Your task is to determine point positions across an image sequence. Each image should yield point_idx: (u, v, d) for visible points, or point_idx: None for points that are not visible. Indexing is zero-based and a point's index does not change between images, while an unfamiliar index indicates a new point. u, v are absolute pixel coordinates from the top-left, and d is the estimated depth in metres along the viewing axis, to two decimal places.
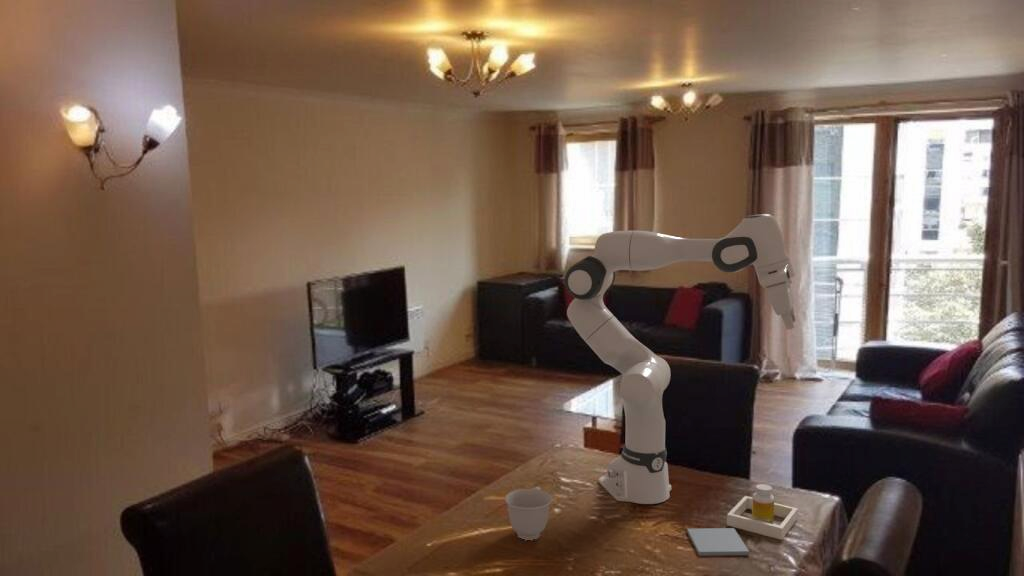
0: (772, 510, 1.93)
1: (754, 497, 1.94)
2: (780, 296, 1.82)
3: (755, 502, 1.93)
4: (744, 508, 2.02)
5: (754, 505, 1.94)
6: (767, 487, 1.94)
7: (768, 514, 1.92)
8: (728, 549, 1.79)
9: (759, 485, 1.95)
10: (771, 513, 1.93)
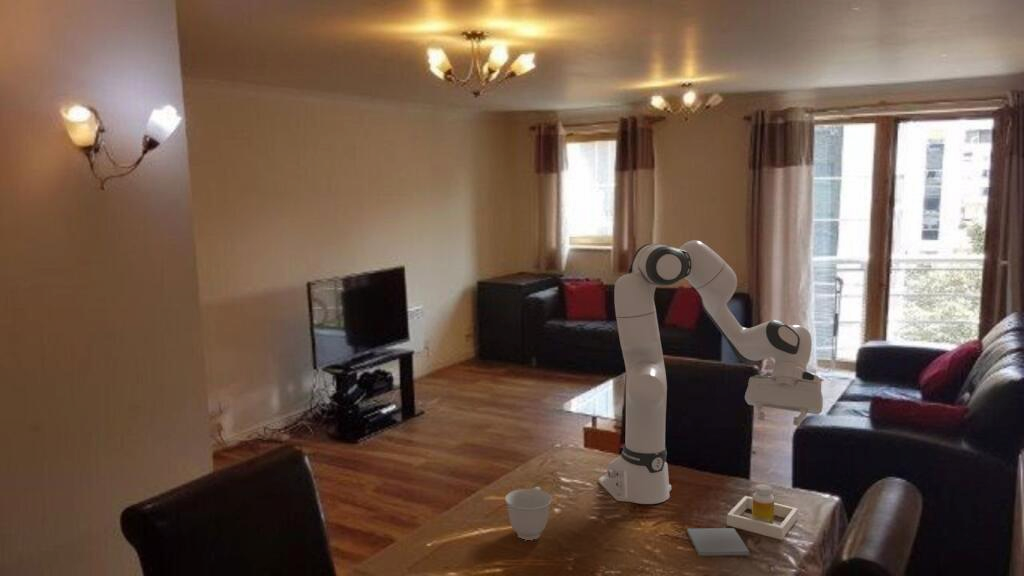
0: (772, 510, 1.93)
1: (754, 497, 1.94)
2: (822, 398, 2.01)
3: (755, 502, 1.93)
4: (744, 508, 2.02)
5: (754, 505, 1.94)
6: (767, 487, 1.94)
7: (768, 514, 1.92)
8: (728, 549, 1.79)
9: (759, 485, 1.95)
10: (771, 513, 1.93)
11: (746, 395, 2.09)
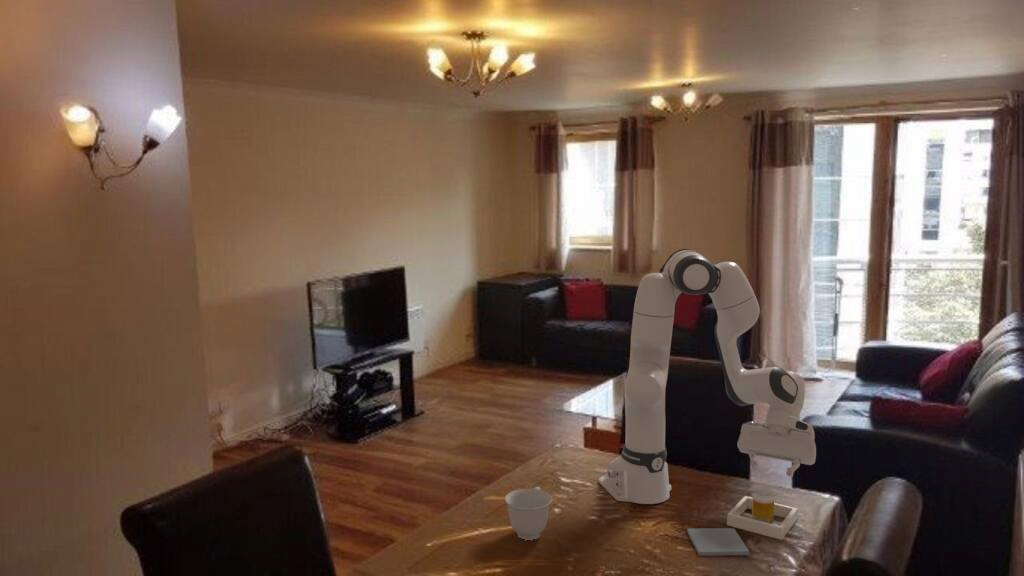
0: (772, 510, 1.93)
1: (754, 497, 1.94)
2: (815, 449, 1.99)
3: (755, 502, 1.93)
4: (744, 508, 2.02)
5: (754, 505, 1.94)
6: (767, 487, 1.94)
7: (768, 514, 1.92)
8: (728, 549, 1.79)
9: (759, 485, 1.95)
10: (771, 513, 1.93)
11: (739, 443, 2.06)
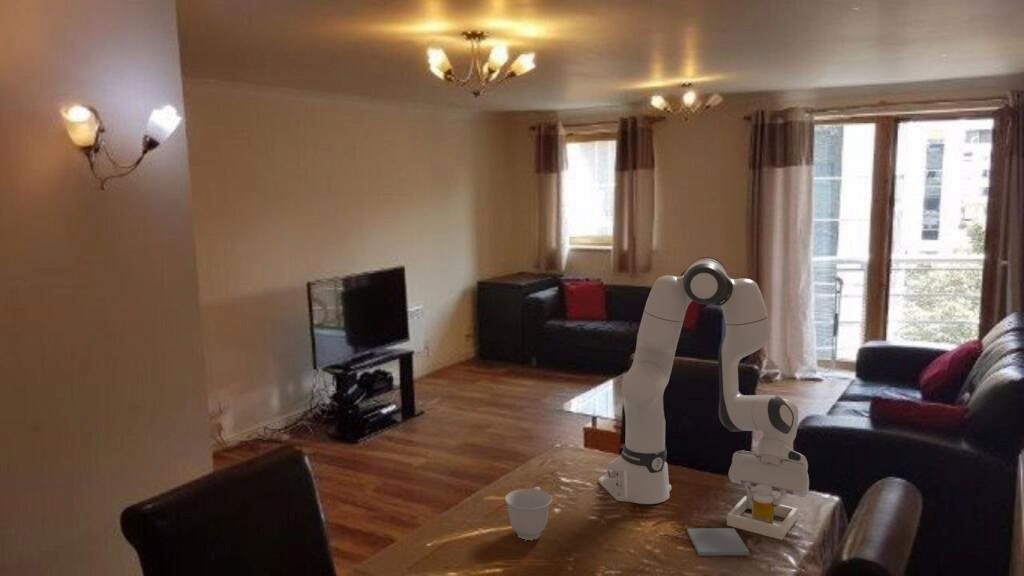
0: (772, 510, 1.93)
1: (754, 497, 1.94)
2: (808, 480, 1.94)
3: (755, 502, 1.93)
4: (744, 508, 2.02)
5: (754, 505, 1.94)
6: (767, 487, 1.94)
7: (768, 514, 1.92)
8: (728, 549, 1.79)
9: (759, 485, 1.95)
10: (771, 513, 1.93)
11: (730, 473, 2.01)
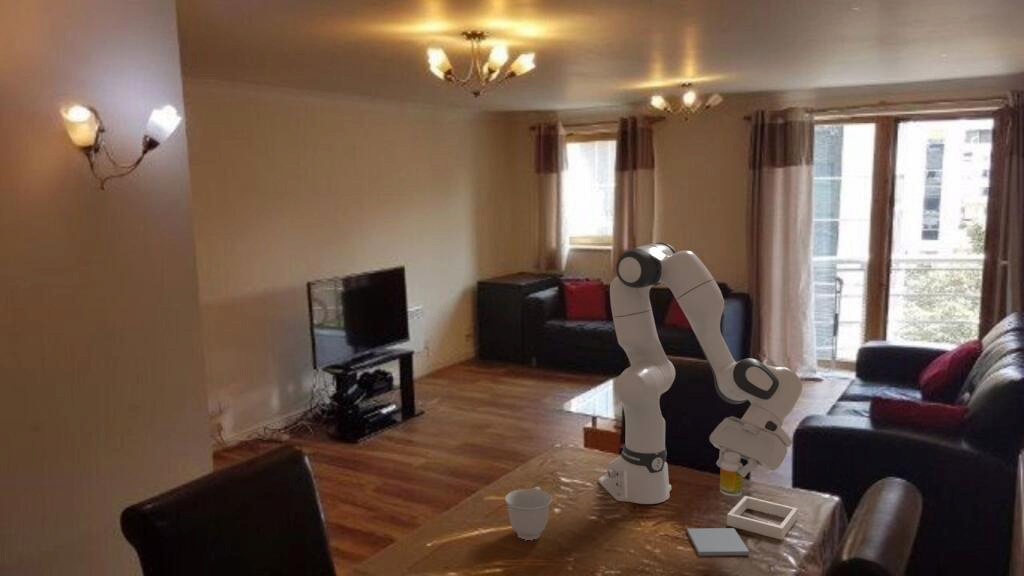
0: (737, 480, 1.81)
1: (721, 463, 1.84)
2: (781, 454, 1.77)
3: (720, 468, 1.83)
4: (744, 508, 2.02)
5: (720, 472, 1.84)
6: (735, 455, 1.82)
7: (731, 483, 1.81)
8: (728, 549, 1.79)
9: (729, 452, 1.84)
10: (735, 483, 1.81)
11: (710, 436, 1.92)
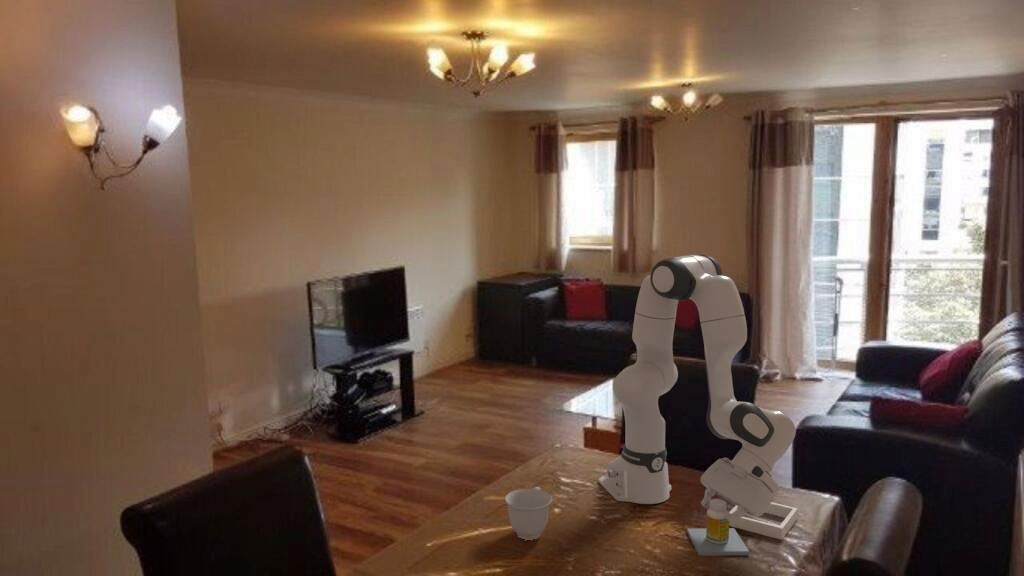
0: (722, 528, 1.81)
1: (707, 510, 1.84)
2: (766, 500, 1.76)
3: None
4: None
5: None
6: (721, 503, 1.82)
7: (716, 531, 1.81)
8: (728, 549, 1.79)
9: (716, 499, 1.84)
10: (720, 531, 1.81)
11: (701, 477, 1.92)
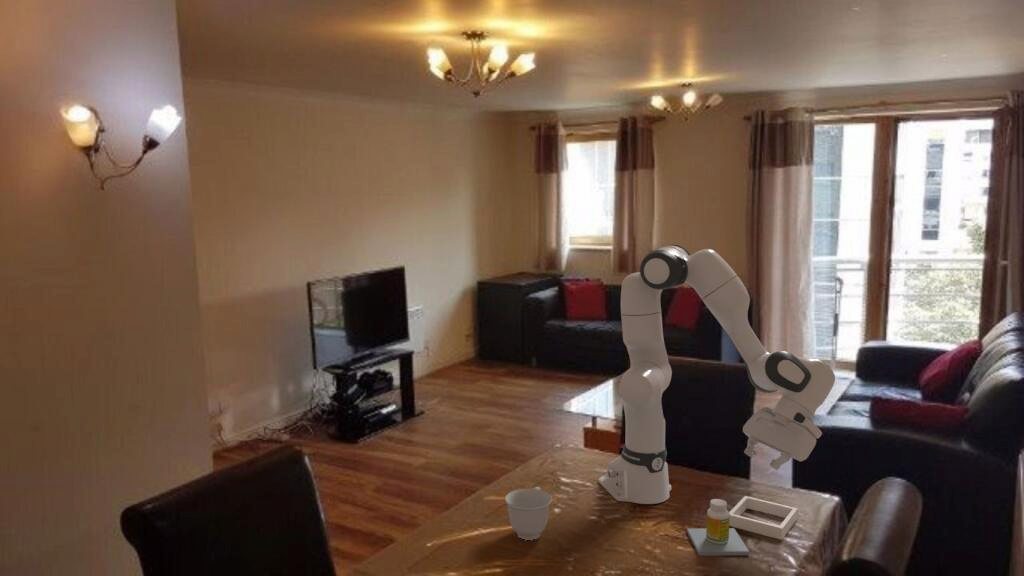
0: (722, 528, 1.81)
1: (707, 511, 1.84)
2: (809, 445, 1.80)
3: (707, 515, 1.84)
4: (744, 508, 2.02)
5: None
6: (721, 503, 1.82)
7: (716, 531, 1.81)
8: (728, 549, 1.79)
9: (716, 499, 1.84)
10: (720, 531, 1.81)
11: (743, 427, 1.96)
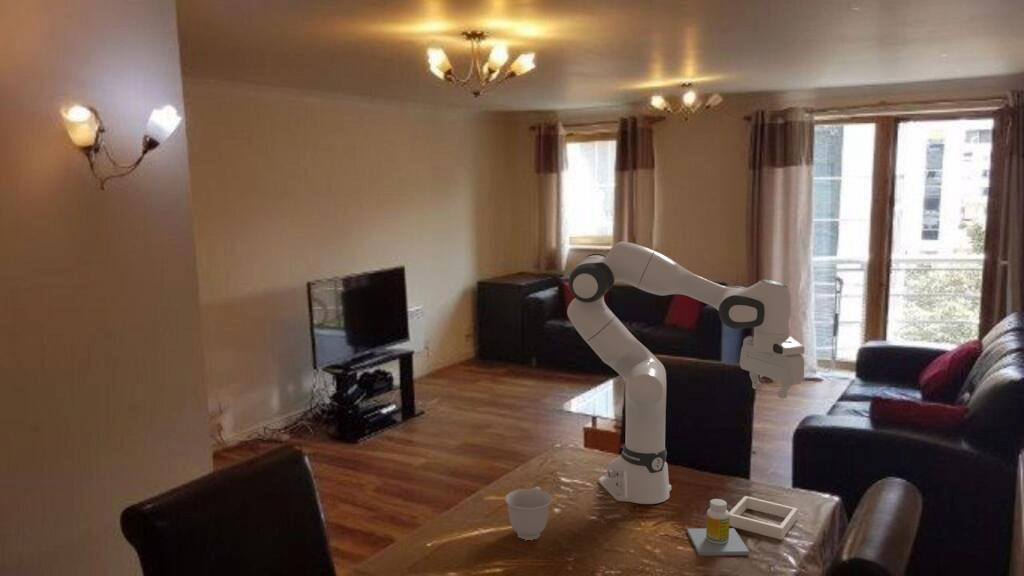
0: (722, 528, 1.81)
1: (707, 510, 1.84)
2: (799, 367, 1.87)
3: None
4: (744, 508, 2.02)
5: None
6: (721, 503, 1.82)
7: (716, 531, 1.81)
8: (728, 549, 1.79)
9: (716, 499, 1.84)
10: (720, 531, 1.81)
11: (740, 364, 2.04)
